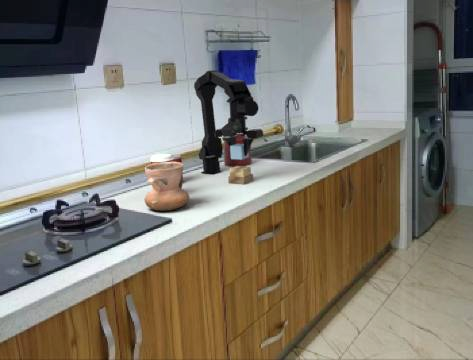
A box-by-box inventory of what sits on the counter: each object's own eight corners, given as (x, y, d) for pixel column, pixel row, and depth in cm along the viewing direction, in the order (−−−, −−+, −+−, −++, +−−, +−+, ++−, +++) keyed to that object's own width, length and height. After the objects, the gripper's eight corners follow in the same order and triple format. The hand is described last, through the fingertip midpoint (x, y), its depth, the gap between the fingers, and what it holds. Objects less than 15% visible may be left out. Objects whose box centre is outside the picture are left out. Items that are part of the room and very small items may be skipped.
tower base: (228, 184, 192) (228, 176, 191) (238, 180, 197) (237, 173, 197) (244, 185, 188) (243, 178, 187) (253, 181, 194) (252, 174, 193)
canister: (234, 160, 238) (232, 123, 234) (257, 162, 230) (255, 124, 226) (218, 165, 228) (215, 127, 224) (241, 167, 220) (239, 128, 216)
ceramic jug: (170, 217, 152) (166, 171, 148) (133, 212, 159) (129, 169, 155) (202, 202, 167) (199, 160, 164) (167, 198, 174) (163, 158, 171)
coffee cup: (157, 201, 171) (153, 158, 167) (150, 196, 178) (146, 155, 175) (180, 197, 174) (177, 155, 171) (172, 192, 182) (168, 152, 178)
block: (230, 158, 190) (230, 146, 188) (237, 156, 194) (237, 143, 193) (241, 159, 187) (241, 146, 186) (248, 157, 191) (248, 144, 190)
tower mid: (229, 176, 191) (229, 168, 190) (237, 173, 196) (237, 166, 195) (243, 177, 188) (243, 169, 187) (250, 174, 193) (250, 166, 192)
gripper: (205, 116, 185) (207, 157, 189) (247, 117, 175) (249, 160, 179) (221, 113, 194) (224, 152, 198) (263, 113, 184) (264, 155, 188)
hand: (239, 155), depth 190 cm, fingers closed on block, 5 cm apart
